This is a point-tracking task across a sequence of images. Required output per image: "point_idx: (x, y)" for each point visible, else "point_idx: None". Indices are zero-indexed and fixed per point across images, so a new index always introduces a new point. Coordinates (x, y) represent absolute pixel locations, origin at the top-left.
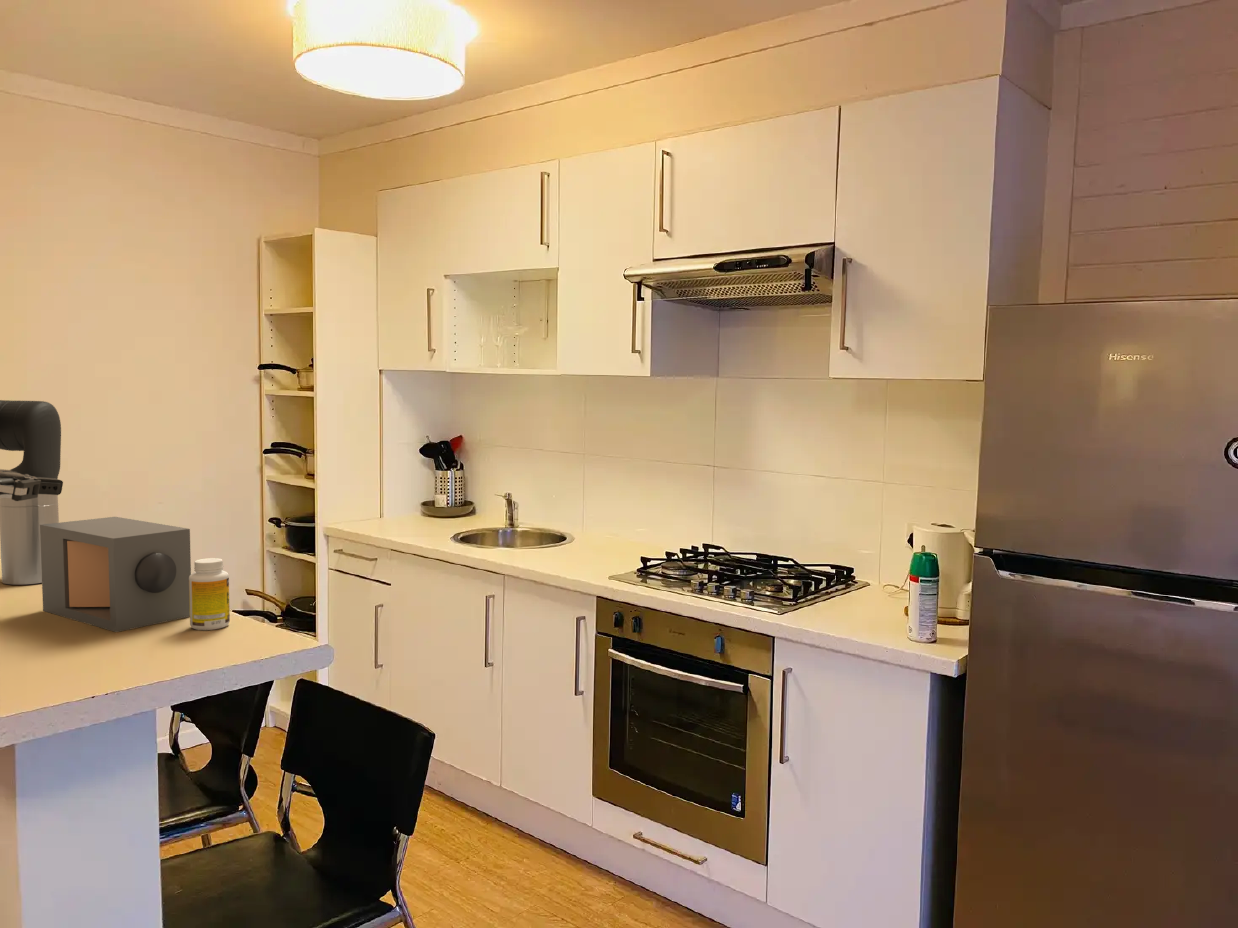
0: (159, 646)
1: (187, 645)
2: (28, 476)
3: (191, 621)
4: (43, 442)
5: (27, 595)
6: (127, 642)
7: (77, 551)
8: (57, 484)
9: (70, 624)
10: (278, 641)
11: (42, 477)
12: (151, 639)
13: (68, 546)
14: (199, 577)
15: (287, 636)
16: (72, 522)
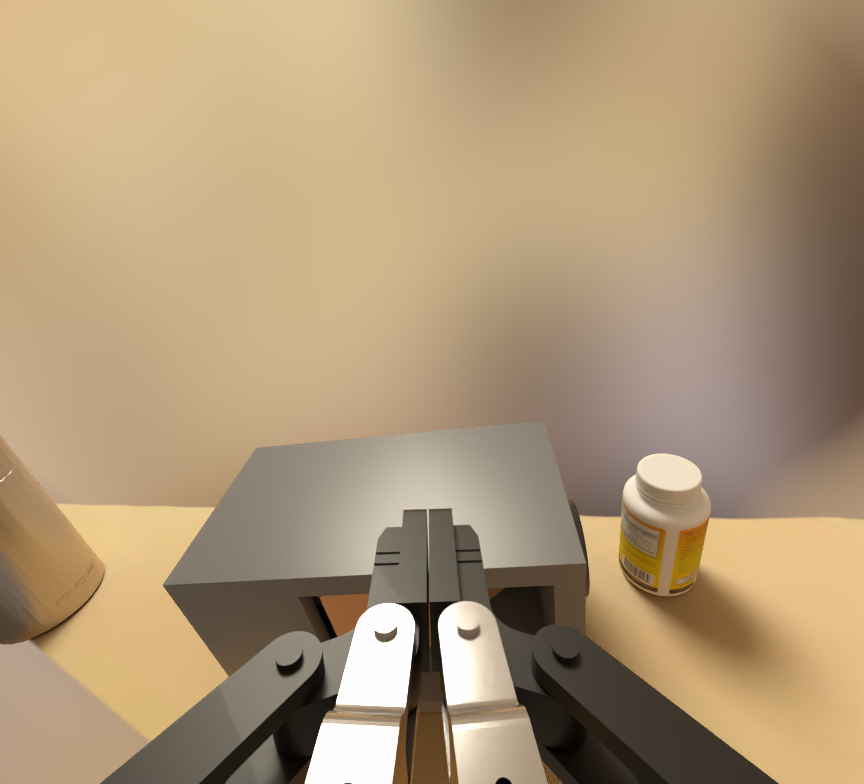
0: (800, 719)
1: (819, 671)
2: (412, 629)
3: (664, 589)
4: None
5: (119, 662)
6: None
7: (351, 600)
8: (477, 542)
9: (425, 743)
10: (858, 548)
11: (401, 556)
12: (709, 694)
13: (326, 605)
14: (699, 516)
15: (818, 525)
16: (226, 522)
